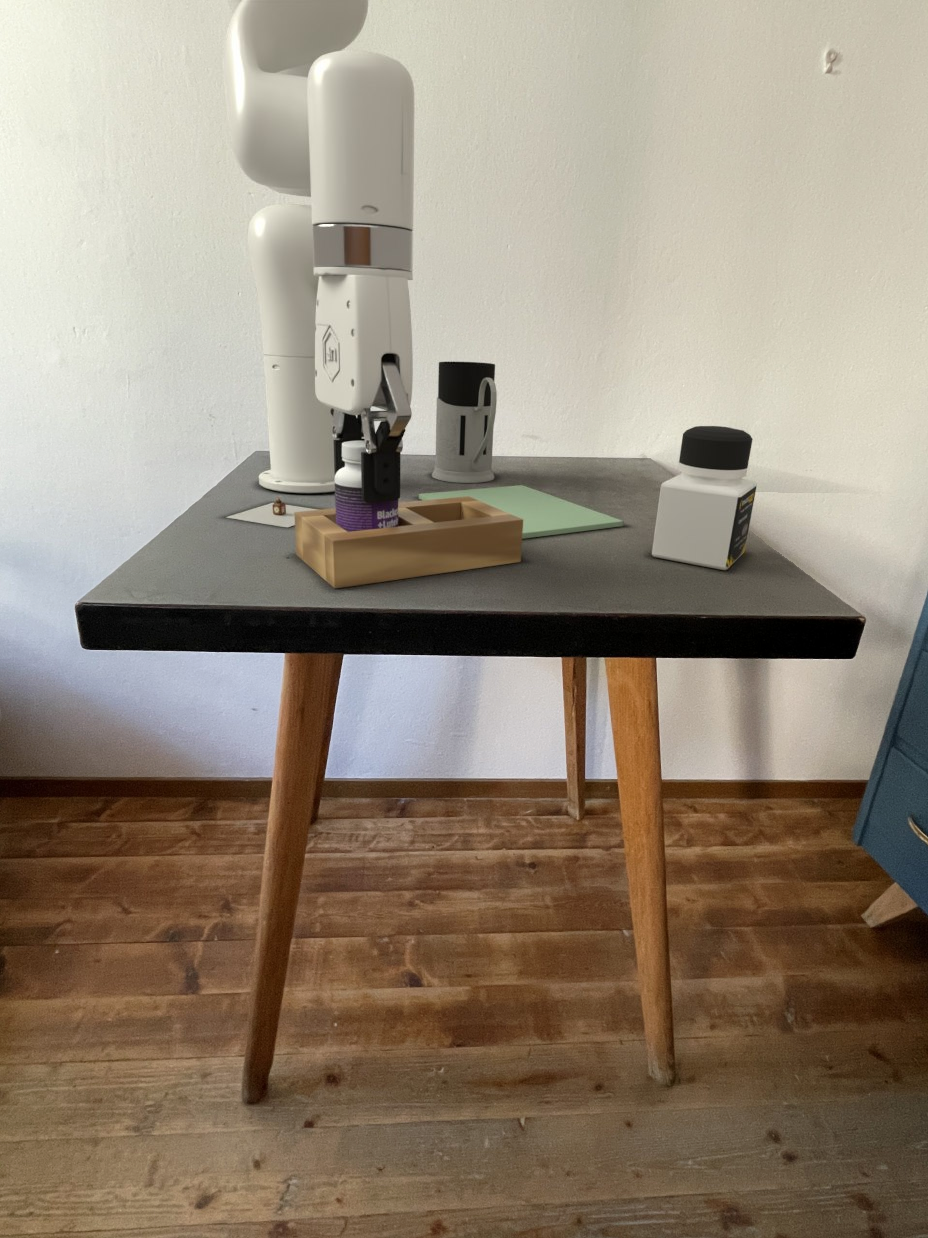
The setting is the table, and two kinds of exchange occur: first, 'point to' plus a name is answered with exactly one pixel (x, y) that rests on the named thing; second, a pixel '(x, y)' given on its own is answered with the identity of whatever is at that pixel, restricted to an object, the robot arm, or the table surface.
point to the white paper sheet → (272, 514)
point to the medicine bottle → (707, 500)
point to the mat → (535, 510)
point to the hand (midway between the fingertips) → (366, 490)
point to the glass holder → (465, 422)
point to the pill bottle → (359, 496)
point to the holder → (409, 542)
